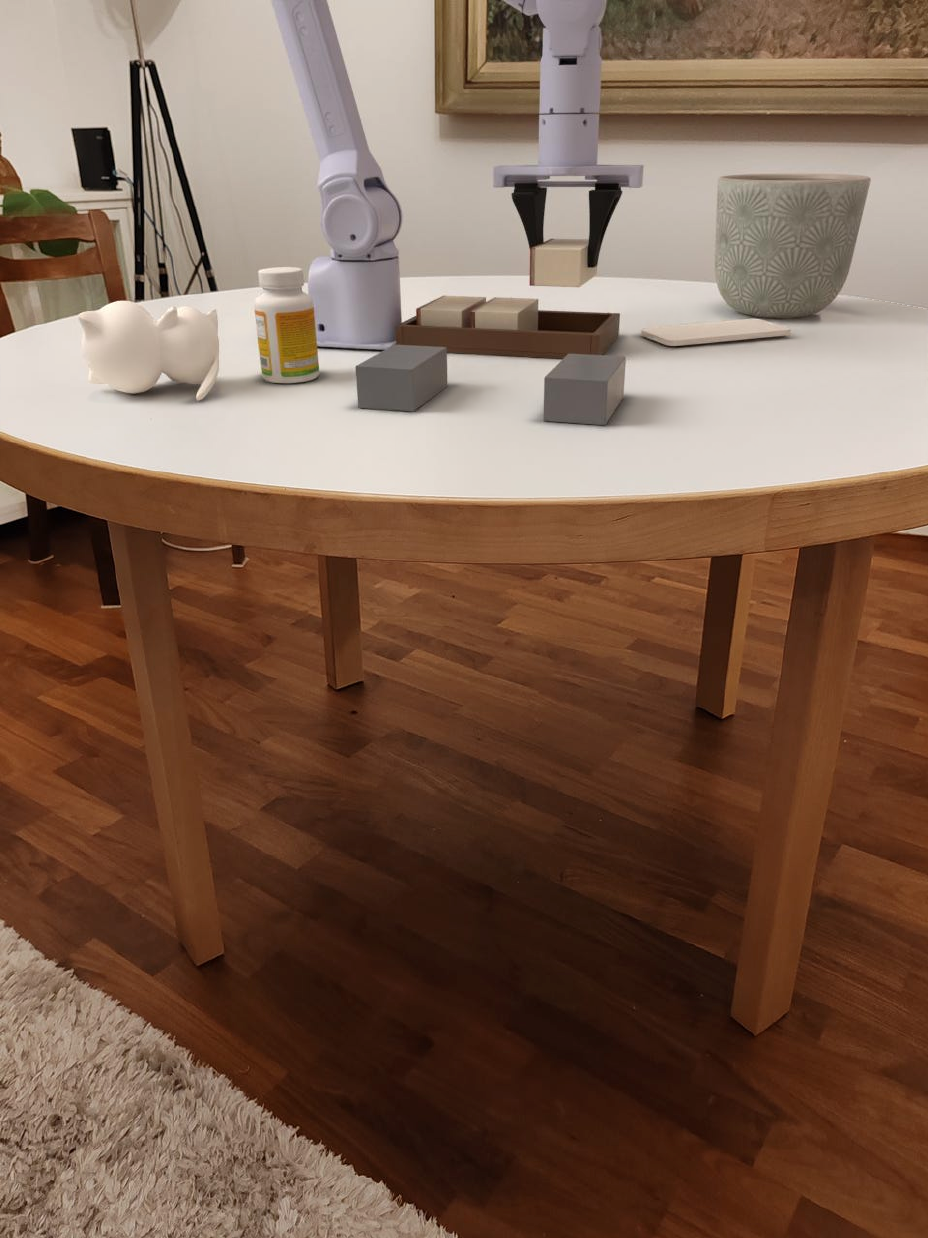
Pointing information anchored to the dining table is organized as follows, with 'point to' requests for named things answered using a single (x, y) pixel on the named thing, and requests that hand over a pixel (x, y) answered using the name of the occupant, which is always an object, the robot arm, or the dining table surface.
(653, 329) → the smartphone
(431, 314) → the beige book
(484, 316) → the ivory book
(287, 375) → the supplement bottle
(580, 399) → the grey box
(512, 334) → the book tray
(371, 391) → the gray rectangular block
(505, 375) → the dining table surface
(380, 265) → the robot arm
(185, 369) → the cat figurine
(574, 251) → the beige rectangular block
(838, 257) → the planter
